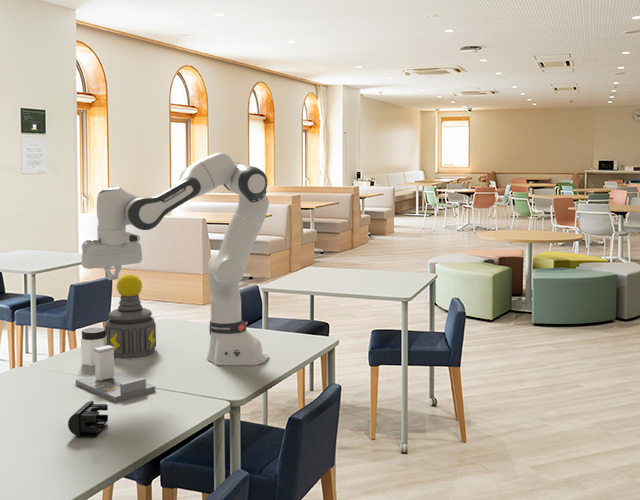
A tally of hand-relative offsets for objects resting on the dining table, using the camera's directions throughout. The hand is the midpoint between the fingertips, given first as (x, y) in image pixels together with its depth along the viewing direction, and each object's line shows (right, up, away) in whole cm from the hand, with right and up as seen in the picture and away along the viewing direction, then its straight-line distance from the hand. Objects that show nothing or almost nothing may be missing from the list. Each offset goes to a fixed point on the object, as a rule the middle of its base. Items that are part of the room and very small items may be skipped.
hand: (113, 279), depth 222 cm
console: (+3, -34, -7) cm, 35 cm away
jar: (-13, -31, +21) cm, 39 cm away
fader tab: (-2, -32, -3) cm, 32 cm away
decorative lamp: (-4, -29, +35) cm, 46 cm away
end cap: (+6, -39, -42) cm, 58 cm away
